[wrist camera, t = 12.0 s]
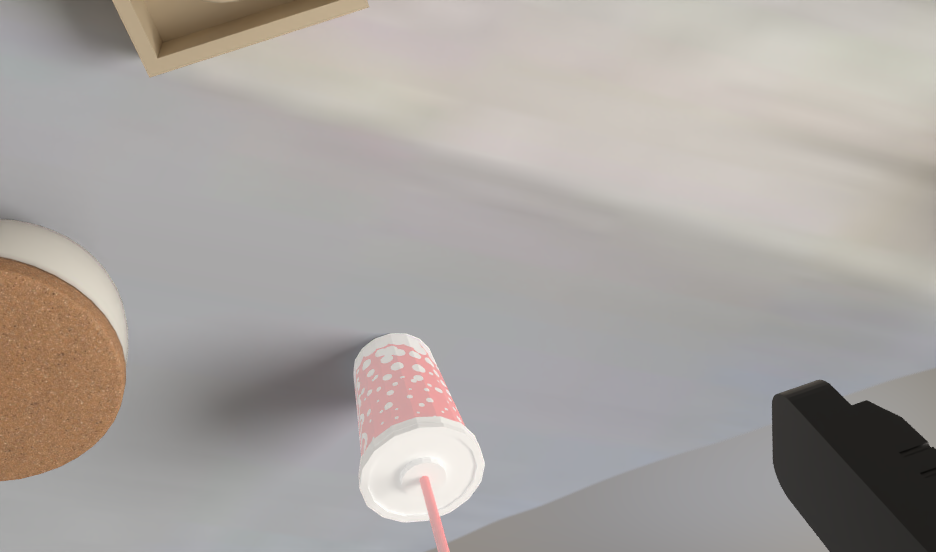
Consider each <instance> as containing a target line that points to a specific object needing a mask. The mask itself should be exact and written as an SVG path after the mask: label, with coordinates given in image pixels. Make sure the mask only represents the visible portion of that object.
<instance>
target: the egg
mask: <svg viewBox="0 0 936 552" xmlns="http://www.w3.org/2000/svg"><path fill="white" fill-rule="evenodd" d="M201 1H206V2H212V3H229V2H235V1H240V0H201Z"/></svg>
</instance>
